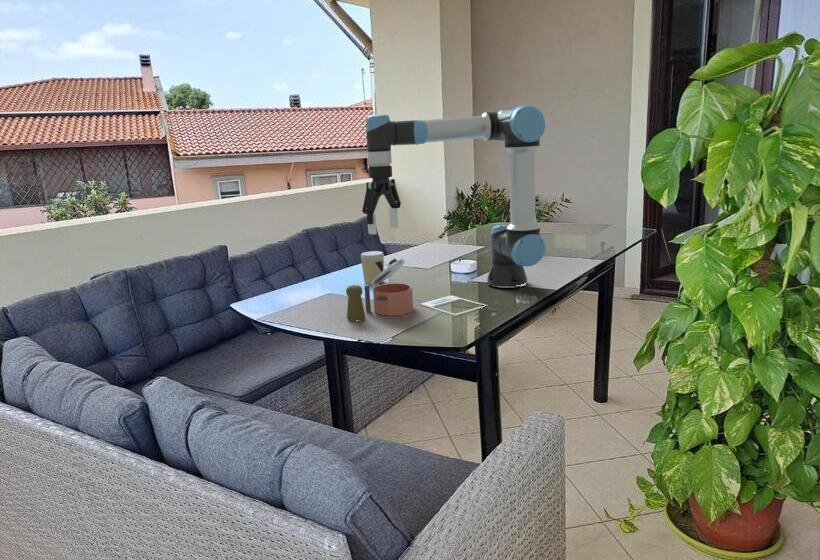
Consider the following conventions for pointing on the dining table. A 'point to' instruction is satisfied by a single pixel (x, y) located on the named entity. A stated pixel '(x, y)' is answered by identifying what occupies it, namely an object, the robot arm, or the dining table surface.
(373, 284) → the lid
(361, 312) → the cork
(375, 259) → the coffee cup
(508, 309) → the dining table surface
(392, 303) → the pot
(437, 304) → the photo frame
